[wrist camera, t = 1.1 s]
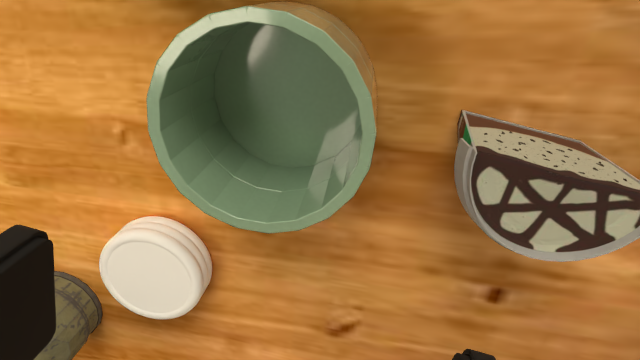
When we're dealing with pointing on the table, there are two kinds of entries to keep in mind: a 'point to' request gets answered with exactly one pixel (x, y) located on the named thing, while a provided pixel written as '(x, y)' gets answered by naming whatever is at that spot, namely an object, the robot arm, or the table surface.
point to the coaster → (156, 267)
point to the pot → (265, 115)
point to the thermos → (71, 317)
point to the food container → (543, 191)
